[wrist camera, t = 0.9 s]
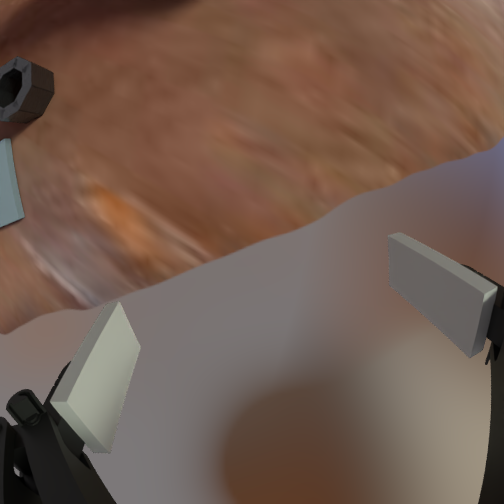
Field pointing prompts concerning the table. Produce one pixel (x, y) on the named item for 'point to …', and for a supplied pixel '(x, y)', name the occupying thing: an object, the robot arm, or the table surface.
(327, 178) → the table surface
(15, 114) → the hub
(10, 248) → the table surface
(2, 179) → the shaft block
